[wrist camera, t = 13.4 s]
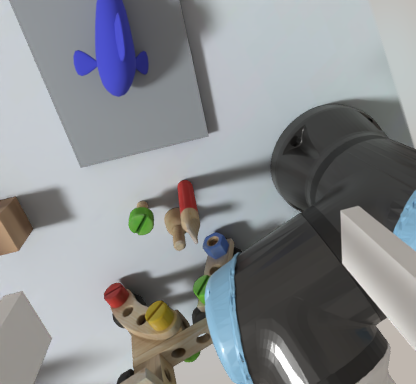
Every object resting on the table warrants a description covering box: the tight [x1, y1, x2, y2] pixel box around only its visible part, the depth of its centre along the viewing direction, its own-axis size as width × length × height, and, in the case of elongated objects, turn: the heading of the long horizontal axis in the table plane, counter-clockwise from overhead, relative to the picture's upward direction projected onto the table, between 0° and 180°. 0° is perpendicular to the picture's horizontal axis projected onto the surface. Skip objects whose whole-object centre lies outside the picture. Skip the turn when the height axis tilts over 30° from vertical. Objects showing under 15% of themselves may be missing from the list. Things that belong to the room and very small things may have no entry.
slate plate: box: [9, 0, 208, 168], centre depth 34 cm, size 16×20×1 cm
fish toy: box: [73, 0, 149, 97], centre depth 29 cm, size 15×8×7 cm, turn 179°
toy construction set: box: [104, 180, 242, 384], centre depth 38 cm, size 27×22×21 cm
